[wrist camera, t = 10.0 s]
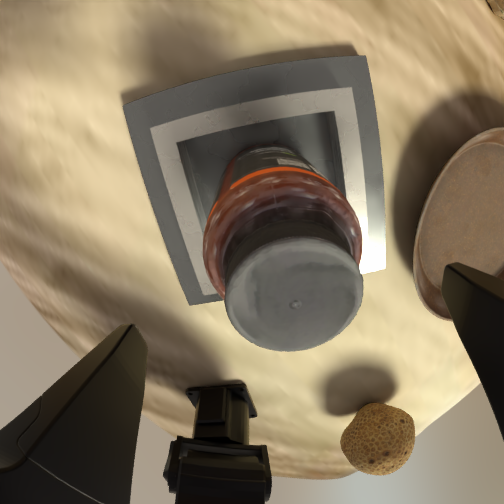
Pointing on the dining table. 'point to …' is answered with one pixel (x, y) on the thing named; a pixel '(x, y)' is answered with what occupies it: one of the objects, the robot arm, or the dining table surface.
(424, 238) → the plant saucer
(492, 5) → the handle
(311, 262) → the supplement bottle
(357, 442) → the natural sponge
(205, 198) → the grey square tray
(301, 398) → the dining table surface
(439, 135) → the dining table surface
